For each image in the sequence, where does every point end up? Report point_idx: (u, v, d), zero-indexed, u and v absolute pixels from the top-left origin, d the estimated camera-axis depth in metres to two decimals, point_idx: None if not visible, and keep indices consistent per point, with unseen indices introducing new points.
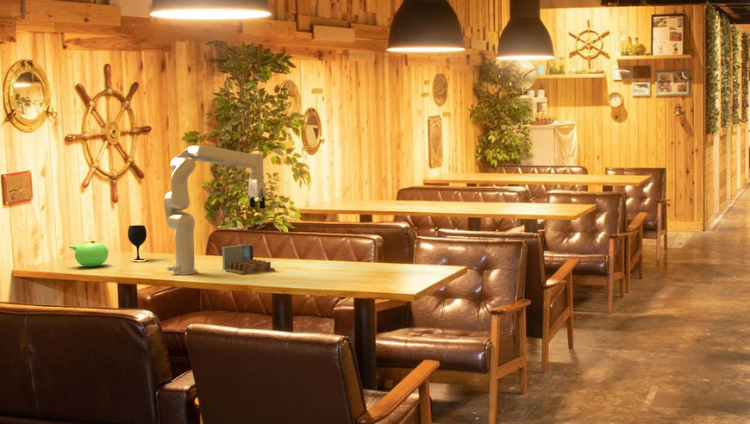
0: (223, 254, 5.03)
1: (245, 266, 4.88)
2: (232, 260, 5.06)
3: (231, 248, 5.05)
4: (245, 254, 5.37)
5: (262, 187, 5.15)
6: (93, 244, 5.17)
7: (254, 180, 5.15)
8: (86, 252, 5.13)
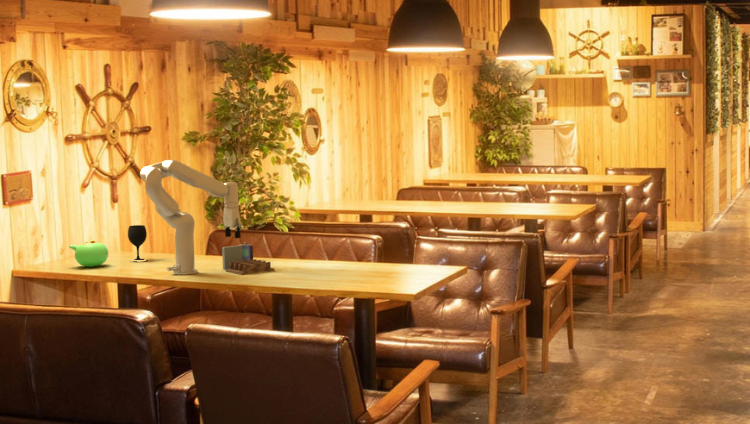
0: (223, 254, 5.03)
1: (245, 266, 4.88)
2: (232, 260, 5.06)
3: (231, 248, 5.05)
4: (245, 254, 5.37)
5: (237, 216, 5.02)
6: (93, 244, 5.17)
7: (229, 209, 5.02)
8: (86, 252, 5.13)
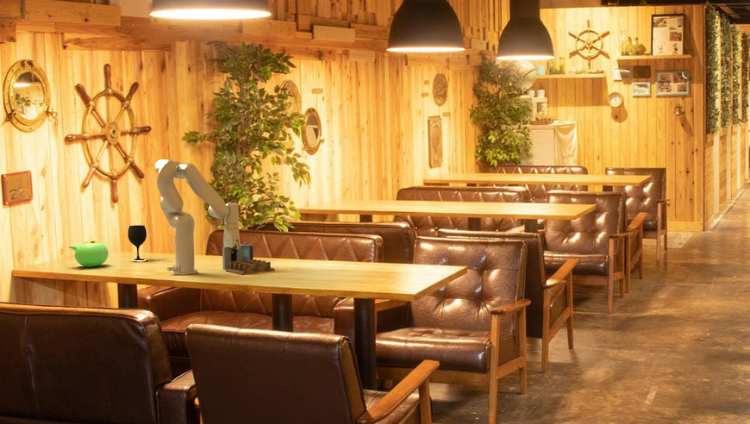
0: (223, 254, 5.03)
1: (245, 266, 4.88)
2: None
3: (231, 248, 5.05)
4: (245, 254, 5.37)
5: (237, 238, 5.03)
6: (93, 244, 5.17)
7: (229, 230, 5.03)
8: (86, 252, 5.13)
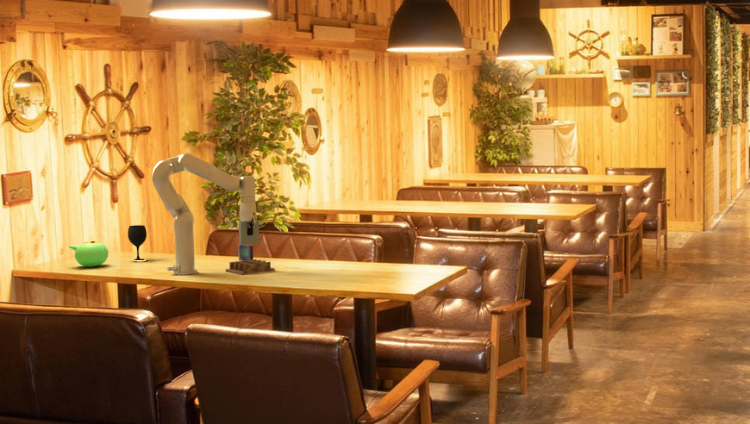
0: (239, 229, 4.93)
1: (245, 266, 4.88)
2: (248, 235, 4.95)
3: None
4: (245, 254, 5.37)
5: (254, 211, 4.92)
6: (93, 244, 5.17)
7: (245, 204, 4.92)
8: (86, 252, 5.13)
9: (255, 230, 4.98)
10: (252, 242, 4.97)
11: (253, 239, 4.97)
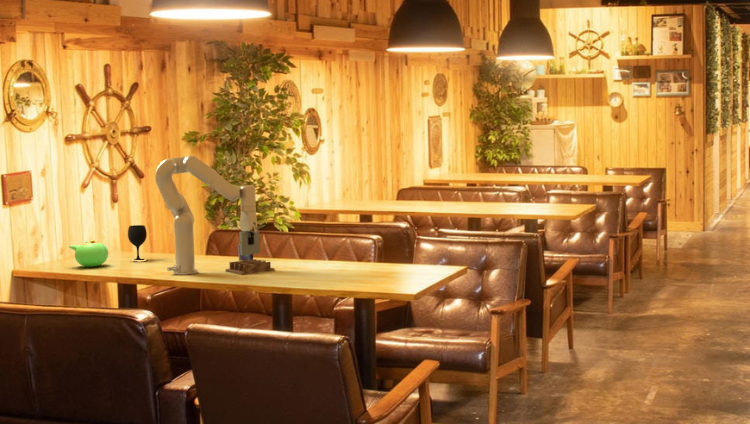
0: (240, 239, 4.93)
1: (245, 266, 4.88)
2: (249, 245, 4.96)
3: (248, 233, 4.95)
4: None
5: (254, 221, 4.92)
6: (93, 244, 5.17)
7: (246, 213, 4.92)
8: (86, 252, 5.13)
9: (256, 240, 4.98)
10: (253, 252, 4.97)
11: (254, 249, 4.98)
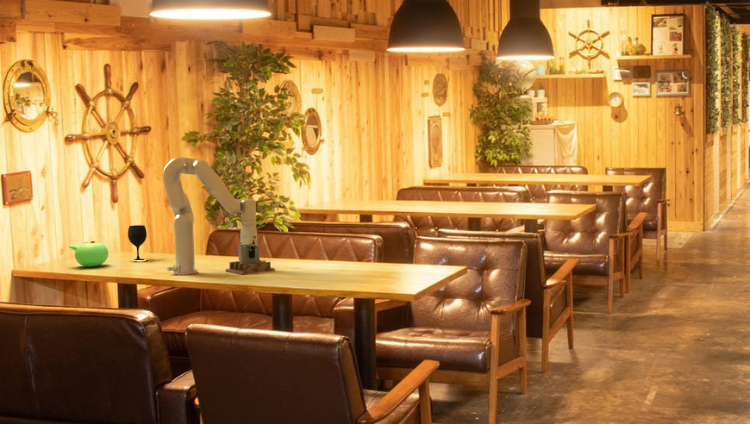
0: (240, 254, 4.94)
1: (245, 266, 4.88)
2: (249, 260, 4.96)
3: (248, 248, 4.95)
4: None
5: (255, 234, 4.93)
6: (93, 244, 5.17)
7: (246, 227, 4.93)
8: (85, 252, 5.13)
9: (255, 255, 4.99)
10: None
11: None
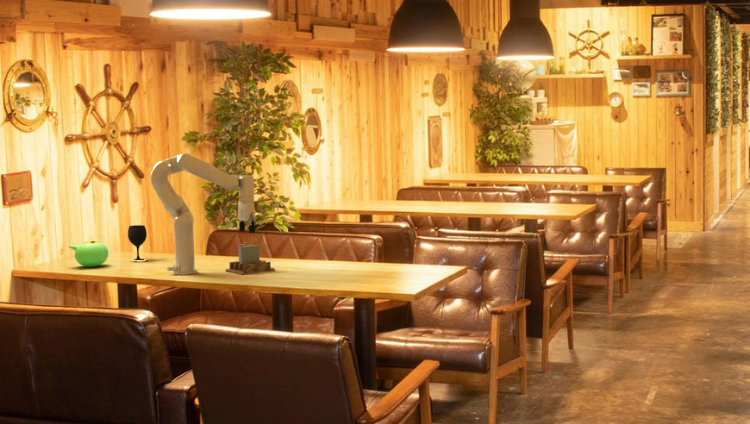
0: (240, 254, 4.94)
1: (245, 266, 4.88)
2: (249, 260, 4.96)
3: (248, 248, 4.95)
4: None
5: (252, 211, 4.92)
6: (93, 244, 5.17)
7: (244, 203, 4.92)
8: (86, 252, 5.13)
9: (255, 255, 4.99)
10: None
11: None
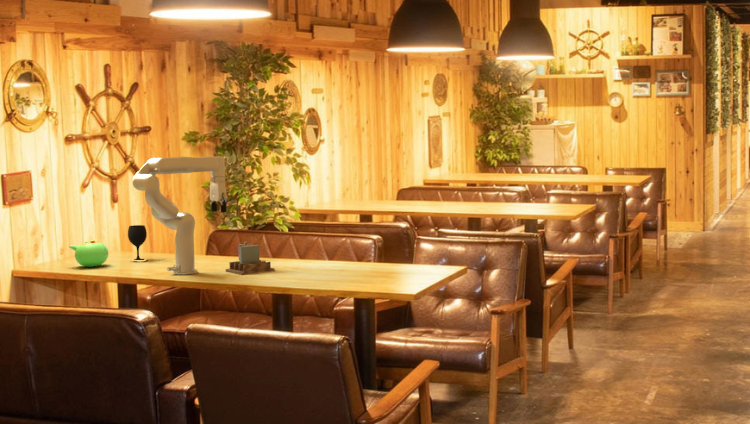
0: (240, 254, 4.94)
1: (245, 266, 4.88)
2: (249, 260, 4.96)
3: (248, 248, 4.95)
4: None
5: (223, 191, 5.02)
6: (93, 244, 5.17)
7: (215, 183, 5.02)
8: (86, 252, 5.13)
9: (255, 255, 4.99)
10: None
11: None
